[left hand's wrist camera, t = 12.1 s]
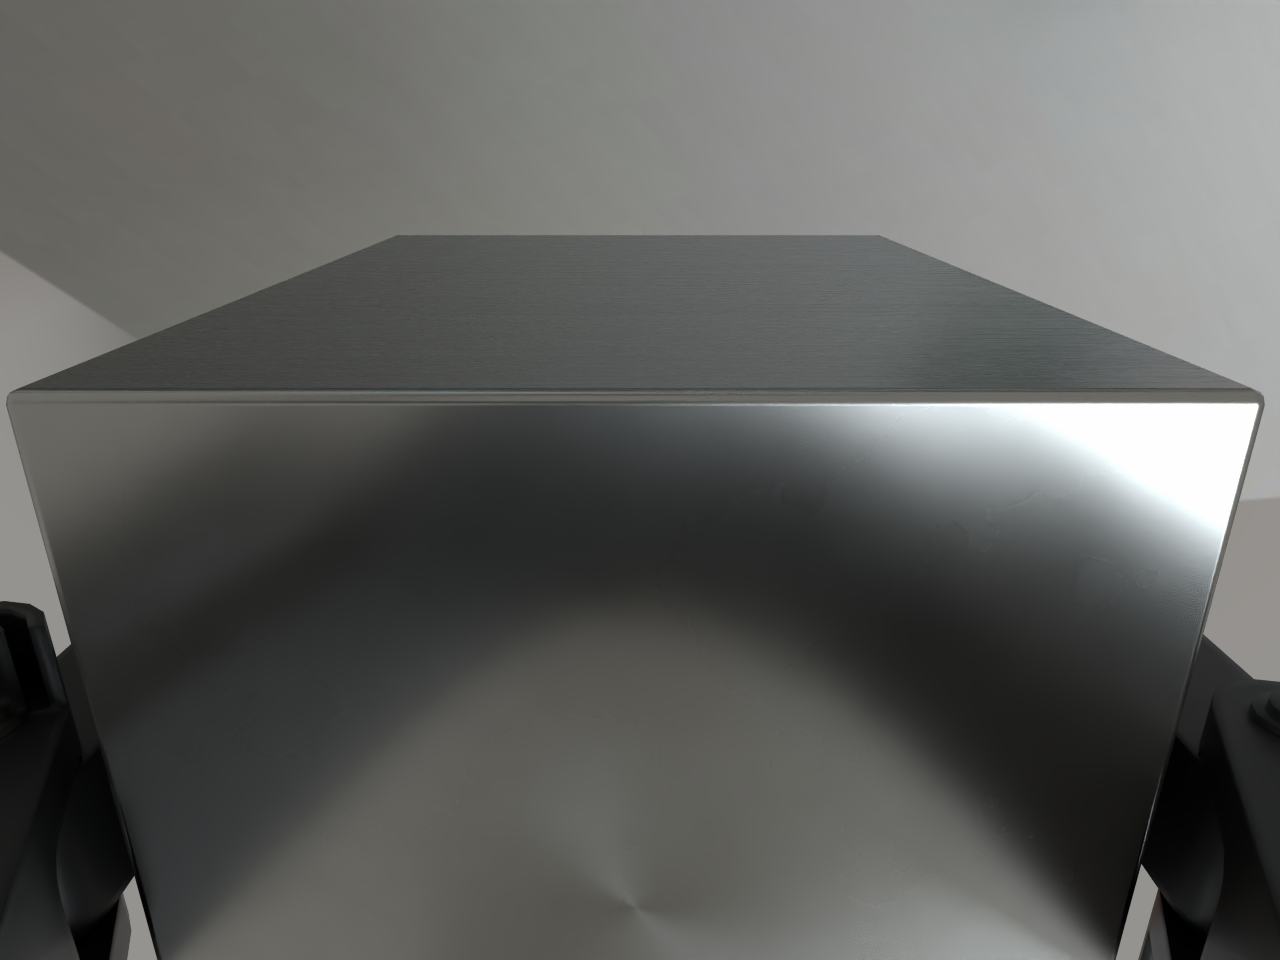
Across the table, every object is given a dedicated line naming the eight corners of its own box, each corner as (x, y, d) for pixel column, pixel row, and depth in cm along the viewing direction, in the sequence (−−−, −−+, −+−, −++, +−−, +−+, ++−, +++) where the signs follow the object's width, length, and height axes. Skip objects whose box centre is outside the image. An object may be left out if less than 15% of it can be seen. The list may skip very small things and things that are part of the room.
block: (840, 679, 17) (1045, 1238, 8) (437, 679, 17) (228, 1237, 8) (883, 234, 14) (1275, 391, 5) (392, 234, 14) (-6, 391, 5)
